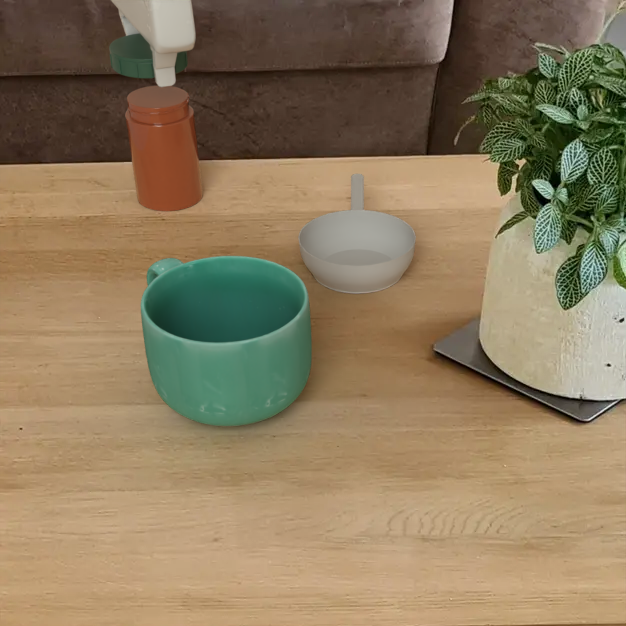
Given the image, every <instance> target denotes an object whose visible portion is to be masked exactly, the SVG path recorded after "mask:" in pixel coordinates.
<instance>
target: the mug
mask: <svg viewBox="0 0 626 626" xmlns="http://www.w3.org/2000/svg"><path fill="white" fill-rule="evenodd" d="M146 272H147V273H146V286H147V287H146V288H145V289H144V291H143V293H142V296H141V299H140V317H141V327H142V335H143V343H144V350H145V357H146V362H147V367H148V372H149V375H150V379H151V382H152V384H153V386H154V389H155V390H156V392H157V394H158V395H159V397H160V398H161V399H162V400H163V402H164V403H165V404H166V405H167V406H168V407H169V408H170V409H172V411H174V412H176V413H177V414H179V415H180V416H183V417H184V418H186V419H189V420H191V421H193V422H196V423H199V424H204V425H208V426H217V427H239V426H247V425H251V424H256V423H260V422H262V421H265V420H267V419H270V418H272V417H275V416H276V415H278V414H280V413H281V412H283V411H284V410H286V409H287V408H289V407H290V406H291V405H292V404H293V403H294V402H295V401H296V400H297V399H298V397H299V396H300V395H302V394H301V393H302V392H303V391H304V389H305V387H306V385H307V383H308V380H309V378H310V374H311V373H310V372H311V368H312V359H313V358H312V357H313V354H312V353H313V345H312V343H313V342H312V341H313V340H312V320H311V307H310V306H311V305H310V297H309V292H308V289H307V286H306V284H305V283H304V281H303V279H302V277H300V276H299V275H298V274H297V273H295V272H294V271H293V270H291V269H290V268H288V267H287V266H284V265H282V264H280V263H277V262H275V261H271V260H269V259H264V258H260V257H254V256H245V255H218V256H217V255H216V256H209V257H203V258H197V259H194V260H190V261H186V262H183V261H182V260H181V259H178V258H175V257H166V258H161V259H159V260H157V261H155V262H153V263H152V264H151V265H150V266H149V267H148V268H147V271H146Z"/></svg>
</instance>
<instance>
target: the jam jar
mask: <svg viewBox="0 0 626 626" xmlns="http://www.w3.org/2000/svg"><path fill="white" fill-rule="evenodd" d="M126 101H127V110H126V111H125V114H124V117H125V123H126V124H125V125H126V130H127V137H128V145H129V151H130V157H131V164H132V165H131V166H132V173H133V178H134V185H135V191H136V199H137V201H138V203H139V204H140V205H141V206H142V207H144V208H147V209H149V210H152V211H160V212H173V211H180V210H185V209H189V208H191V207H194V206H195V205H197V204H198V203H199V202H200V201H201V200H202V199H203V196H204V192H203V183H202V174H201V172H202V171H201V164H200V155H199V145H198V136H197V128H196V120H195V111H194V108H193V107H192V106H191V105H190V102H189V101H190V95H189V93H188V92H187V91H186V90H184V89H182V88H180V87H177V86H174V85H172V86H166V87H160V86H158V85H148V86H143V87H140V88H137V89H135V90H133V91H131V92H130V93H129V94H128V95H127V97H126Z"/></svg>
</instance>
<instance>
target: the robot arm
mask: <svg viewBox="0 0 626 626" xmlns="http://www.w3.org/2000/svg"><path fill="white" fill-rule="evenodd" d="M110 2H111V3H112V4H113V5H114V6H115V7H116V8H117V9H118V16H119V18H120V21H121V25H122V28H123V31H124V34H125V36H127V35H132V34H138V33H140V34H141V35H142V36H143V37H144V39H145V40H146V41H147V42H148V43H149V44H150V48H151V50H152V52H153V64H151V68H152V77H153V78H152V80H153V81H154V82H155V84H156V86H160V87H166V86H174V85H175V84H176V81H177V79H176V74H175V67H174V66H175V62H176V57H177V52H183V51H187V52H188V51H191V50H192V51H193V49H194V48H195V44H196V40H197V39H196V37H197V35H196V34H197V33H196V25H195V18H194V9H193V3H192V0H110Z"/></svg>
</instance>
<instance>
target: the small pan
mask: <svg viewBox="0 0 626 626" xmlns="http://www.w3.org/2000/svg"><path fill="white" fill-rule="evenodd" d="M297 239H298V244H299V245H298V246H299V252H300V258H301V260H302V261H303V264H304V265H305V267H306V269H307V270H308V271H309V272H310V273H311V275H312V276H313V278H314V279H315V280H316V281H317V283H318V284H320V285H321V286H323V287H325V288H327V289H329V290H332V291H335V292H339V293H345V294H359V295H360V294H369V293H374V292H375V293H376V292H380V291H383V290H386V289H388V288H390V287H392V286H394V285H396V284H397V283H398V282H399V281H400V280H401V279H402V277H403V276H404V274H405V273H406V271H407V269H408V268H409V267H410V265H411V264H412V262H413V259H414V255H415V251H416V250H415V249H416V239H417V236H416V232H415V229H413V227H412V225H410V224H409V223H408V222H407V221H405V220H404V219H402V218H400V217H397V216H396V215H392V214H391V213H386V212H383V211H377V210H370V209H365V176H364V174H362V173H353V174H352V175H351V176H350V209H346V210H345V209H344V210H337V211H332V212H328V213H326V214H322V215H319V216H317V217H315V218H312V219H311V220H310V221H308V222H307V223H306V224H305V225H303V226H302V228H301V229H300V231H299V233H298V238H297Z"/></svg>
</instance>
